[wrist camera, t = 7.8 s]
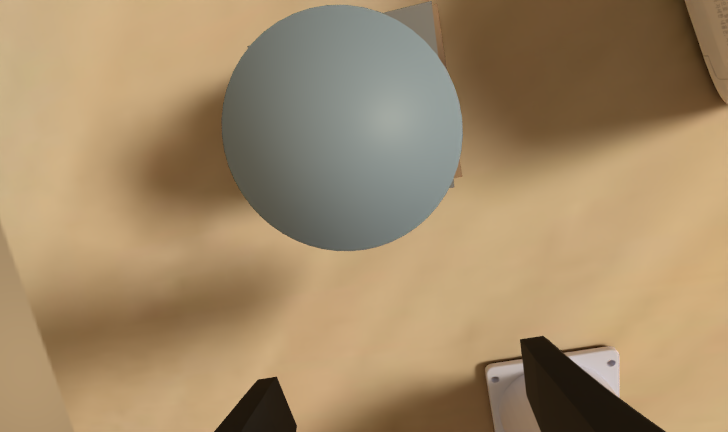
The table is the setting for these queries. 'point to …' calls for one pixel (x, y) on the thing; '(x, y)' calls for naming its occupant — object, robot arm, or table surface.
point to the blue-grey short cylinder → (342, 127)
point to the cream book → (712, 38)
